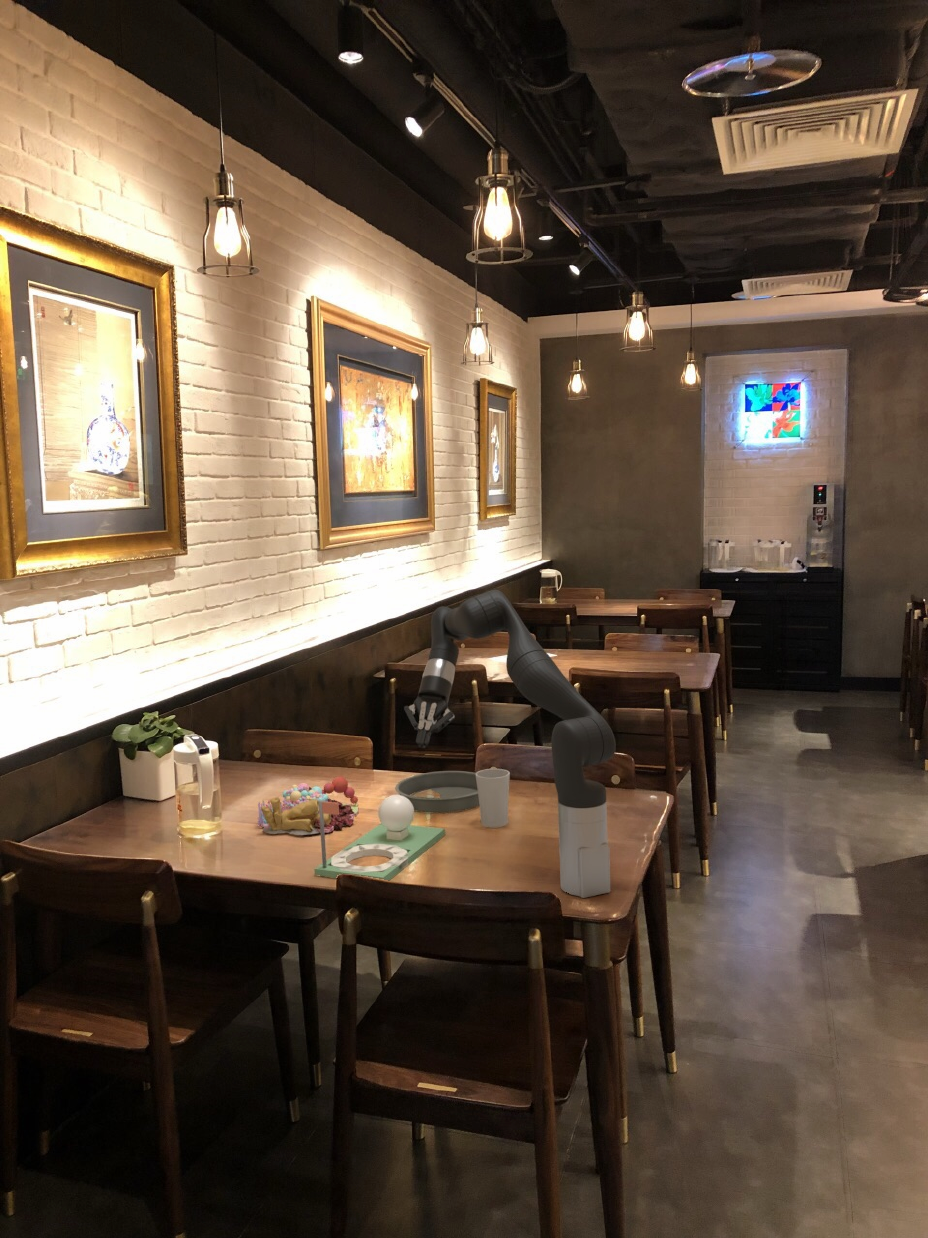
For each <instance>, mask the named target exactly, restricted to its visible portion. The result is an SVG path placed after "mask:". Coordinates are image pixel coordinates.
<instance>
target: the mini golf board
mask: <svg viewBox="0 0 928 1238" xmlns="http://www.w3.org/2000/svg"><path fill="white" fill-rule="evenodd" d="M323 813H324V814H334V815H339V804H338V803H333V802H323V801H319V815H320V831H321V833H320V844H321V858H322V859H321V860H322V863H320V864H319V865H318V866H316V867H314V869H313V870H314V876H315V875H320V876H326V877H325V878H327V877H332V878H331V879H335V880H337V879H336V877H337V875H339V874H354V875H361V876H368V877H373V878H379V879H384V880H389V881H391V879H393V878H394V877H395V876H397V874H399V873H400V872H402V871H403V870H404V869H405V868H407V866H409V865H410V864H411V863H413V862H414V861H415V860H416V859H418V858H419V857H420V856H421V855H422V854H424V853H425V852H426V851H428V849H430V848H431V847H432V846H434V844H436V843H438V842H439V841H440V840H441V839H442V838H443V837H444V836H446V829H445V828H443V827H432V826H425V825H424V826H422V825H413V824H410V825H409V826H408V827H407V828H406V829H404V830H402V831H390V830H388V829H386V828H385V827H384V826H383V825H382V824H381V823H380V824H378V825H377V826H375V827H374V828H372V829H371V830H369V831H368V832H367V833H365V834H363V835H361V836H360V837H359V838H357V839H356V840H354V841H353V842H351V843H350V844H348V845H347V846H345V847H344V848H343V849H342V850H339V851H338V852H337V853H336V854H334V855H332V856H331V857H330V858H328V859H327V851H326V849H327V848H326V836H325V835H326V834H325V832H324V816H323ZM373 856H376V857H377V856H378V857H385V858H389V859H390V860H389V861H387V862H384V863H381V864H380V863H379V864H378V865H371V866H370V865H367V866H361V865H354V864H351V863H350V862H352V861H353V860H356V859H359V858H363V857H373ZM320 876H319V877H320Z"/></svg>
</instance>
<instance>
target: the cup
mask: <svg viewBox="0 0 928 1238" xmlns="http://www.w3.org/2000/svg"><path fill="white" fill-rule="evenodd" d="M475 773H476V781H477V788H478V797H479V811H480V813H479V814H480V825H482V826H483V827H486V828H491V829H493V828H495V829H496V828H502V827H505V826H507V825H508V824H509V794H510V793H509V791H510V789H509V788H510V774H511V773H510V771H509V770H507V769H504V768H503V769H502V768H486V769H482V770H478V771H476V772H475Z"/></svg>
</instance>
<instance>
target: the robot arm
mask: <svg viewBox="0 0 928 1238" xmlns="http://www.w3.org/2000/svg"><path fill="white" fill-rule="evenodd" d="M430 624H431V625H430V628H431V629H430V630H431V631H430V632H431V647H430V652H429V655H428V658H427V663H426V664H425V665H426V666H425V668H424V671H423V673H422V678H421V681H420V686H419V689H418V693H417V694H418V695H417V697H416V699H415V700H414V701H413V704H410V705H409V706H408V705H405V706H404V707H403V709H404V711H405V713H406V716H407V718H408V719H409V721H410V724H411V725H412V727H413V730H415V731H417V735H416V739H415V743H416V744H417V746H418V748H420V749H421V748H422V749H425V748H426V747H428V745H429V743H430V739H431V735H432V734H433V733H436V734H437V733H440V732H441V731H442V730H443V729H444V728H446V727H447V726H448V725H449V724H450V723H451V722H453V721H455V719H456V717H455V714H454V712H453V711H452V710H450V708H449V699H450V695H451V692H452V688H453V683H454V679H455V672H456V667H457V662H458V658H459V654H460V648H459V646H457V644H456V643H454V642H453V641H452V640H456V641H459V642H463V641H466V640H467V639H468V638H471V639H474V640H475V639H476V640H478V639H479V640H480V639H484V638H487V637H489V636H491V635H494V634H496V633H498V632H499V633H500V632H502V631H505V632H507V633H508V637H509V638H508V640H509V641H508V649H507V652H506V653H507V654H506V662H505V663H506V672H507V675H508V678H510V680H511V681H512V683H513V684H514V685H515V687H516V688H517V690H518V691H519V693H521V695H522V696H524V698H525V699H527V700H528V701H529V702H531V703H533V704H535V705H536V706H538V707H540V708H541V709H543V710H546V711H548V712H549V713H552V714H553V715H555V716H557V717H559V718H561V719H562V720H561V721H559V722H557V723H556V724H555V725H554V727H553V730H552V732H551V733H552V734H551V756H552V757H551V758H552V766H553V778H554V779H553V780H554V785H555V786H554V787H555V789H556V794H557V811H558V814H557V815H558V819H557V820H558V841H559V842H558V843H559V845H558V846H559V848H558V849H559V850H558V851H559V871H560V874H559V878H560V889H561V890H562V891H563V892H564V893H566V892H567V894H568V893H569V895H572V896H575V897H576V896H577V897H580V898H581V899H585V898H589V897H594V896H597V895H602V894H603V895H604V894H607V893H609V894H610V892H611V870H610V868H611V865H610V844H609V843H608V820H607V819H608V817H607V815H608V814H607V812H608V811H607V809H608V808H607V789H606V787H605V785H603V784H602V783H601V782H598V781H596V780H592V779H586V778H585V774H584V772H585V771H584V767H590V766H594V765H599V764H602V763H606V762H608V761H610V760H611V759H612V758H613V757H614V755H615V753H616V750H617V749H616V748H617V746H616V745H617V743H616V738H615V735H614V733H613V730H612V728H611V727H610V724H608V722H607V721H606V720H605V718H604V717H603V716H602V715H601V714H600V713H599V712H598V711H597V710H596V709H595V708H594V707H593V706H592V705H591V704H590V702H588V701H587V700H586V699H585V698H584V697H583V696H582V695H581V694H580V693H579V691H578V690H577V689H576V688H575V687H574V686H573V684H571V682H570V681H569V680H568V679H567V677H566V676H565V675H564V673H563V672H562V671H561V669H560V668H559V667H558V666H557V664H556V663H555V661H554V660H553V659H552V658H551V656H550V655H549V654H548V653H547V651H545V649H544V648H543V647H542V646H541V644H540V643H539V642H538V641H537V640H536V638H535V637H534V636H533V635H532V633H531V632H530V631H529V630H528V628H527V627H526V625H525V624H524V622H523V619H521V617H520V616H519V614H518V612H517V610H516V609H515V607H514V606H513V604H512V603H511V602H510V600H509V599H508V597H507V596H506V595H505V594H504V593H503V592H502V591H501V590H499V589H491V590H489V591H485V592H483V593H481V594H478V595H476V596H473V597H470V598H468V599H466V600H464V602H462V603H461V604H460V605H459V606H457V607H455V608H450V607H448V606H443V605H442V606H439V607H437V608H436V609H435V610H434V612H433V613H432V615H431V620H430ZM449 638H450V639H452V640H450V639H449ZM415 711H416V712H417V714H418V717H419V719H418V720H419V721H418V722H417V721H416V718H415V717H414V715H415V713H416V712H415Z"/></svg>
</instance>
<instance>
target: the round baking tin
mask: <svg viewBox="0 0 928 1238" xmlns="http://www.w3.org/2000/svg"><path fill="white" fill-rule="evenodd" d="M476 773H477V772H472V771H463V770H442V771H441V770H440V771H430V772H425V773H419V774H416V775H411V776H409V777H406V778H405V779H403V780H402V779H401V780H400V781H399V782H398V783H397V784H395V787H394V789H395V792H396V793H397V794H398V795H401V796H404V797H406V798H407V799H409V800H410V802H411V803H412V805H413V807H414V812H420V813H427V814H428V813H429V814H449V813H458V812H462V811H468V810H471V809H475V808H477V807H480V805H479V797H478V788H477V781H476ZM429 790H431V791H433V792H435V793H437V794H440V796H439V797H426V796H425V797H424V796H423V797H422V796H414V795H413V794H417V793H419V792H422V791H423V792H424V791H429Z"/></svg>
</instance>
